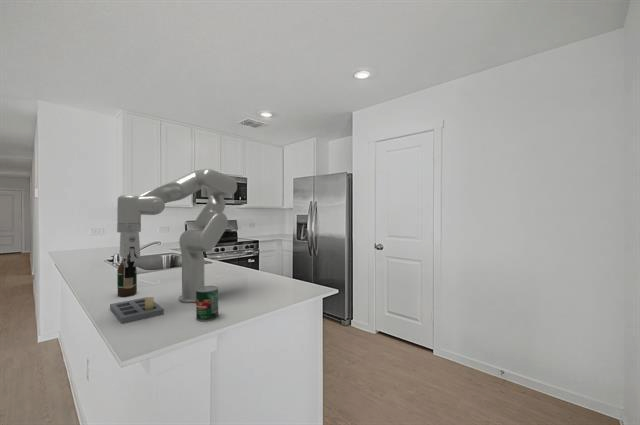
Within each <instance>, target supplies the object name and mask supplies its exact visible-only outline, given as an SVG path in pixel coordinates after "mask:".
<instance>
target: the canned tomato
mask: <svg viewBox="0 0 640 425" xmlns="http://www.w3.org/2000/svg"><path fill="white" fill-rule="evenodd" d="M195 307H196V309H195V310H196V315H195V317H196V320H197V321H199V322H210V321H213V320H216V319H218V318H219V287H218V286H215V285H204V287H200V288H197V289H196V302H195Z"/></svg>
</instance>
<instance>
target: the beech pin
mask: <svg viewBox="0 0 640 425" xmlns="http://www.w3.org/2000/svg"><path fill="white" fill-rule="evenodd" d="M125 267H126V261H124V284H123V288H124V289H129V288H133V278H125Z"/></svg>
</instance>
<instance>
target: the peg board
mask: <svg viewBox="0 0 640 425" xmlns="http://www.w3.org/2000/svg"><path fill="white" fill-rule="evenodd" d="M109 309H110V311H111V312H112V314H113V315H114V316H115V317H116V319H117V320H118V322H120V324H121V325H122V324H127V323H132V322H135V321H140V320H143V319H144V320H146V319H149V318H152V317H157V316H162V315H164V314H165V310H164V307H162V306H160V305H159V304H158V303H157V302H155V298H154V296H147V297H140V298H136V299H132V300H131V299H130V300H126V301H120V302H119V301H118V302H114V303H109Z"/></svg>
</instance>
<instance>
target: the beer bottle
mask: <svg viewBox="0 0 640 425" xmlns="http://www.w3.org/2000/svg"><path fill="white" fill-rule="evenodd" d="M136 266H137V265H135V277H133V288H129V289H124V288H123V284H124V277H123V276H122V269H123V258H122V257H121V262H120V263H119V265H118V267H117V273H116V274H117V280H116V281H117V283H116V284H117V286H116V287H117V296H118V297H119V298H127V297H132V296H135V295H137V291H138V285H137V284H138V282H137V280H138V278H137V277H138V276H137V274H138V273H137V267H136Z"/></svg>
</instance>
